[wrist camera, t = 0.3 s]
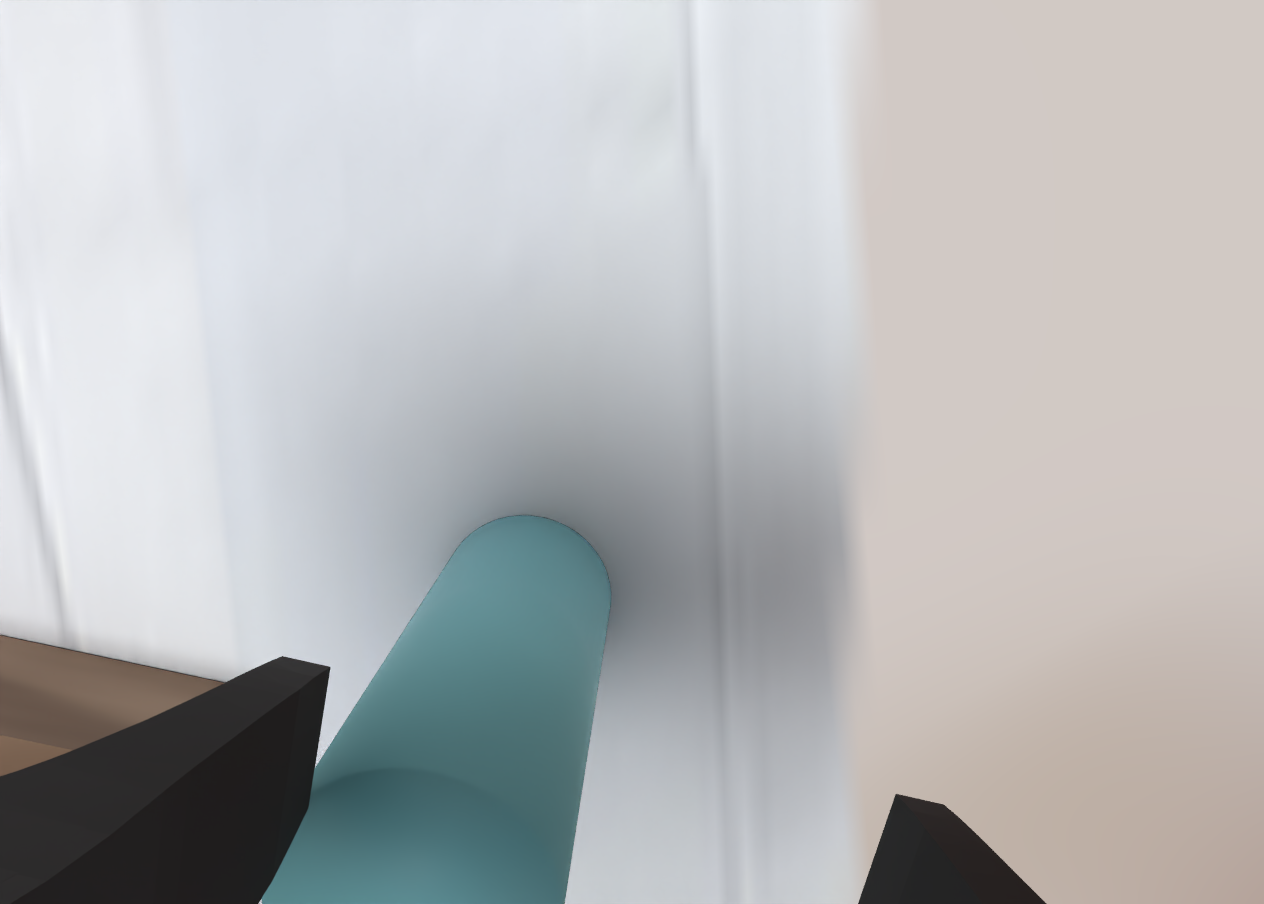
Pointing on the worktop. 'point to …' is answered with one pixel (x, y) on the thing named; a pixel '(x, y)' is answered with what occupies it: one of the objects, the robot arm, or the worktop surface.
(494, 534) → the peg
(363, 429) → the worktop surface
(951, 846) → the robot arm
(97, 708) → the socket block
